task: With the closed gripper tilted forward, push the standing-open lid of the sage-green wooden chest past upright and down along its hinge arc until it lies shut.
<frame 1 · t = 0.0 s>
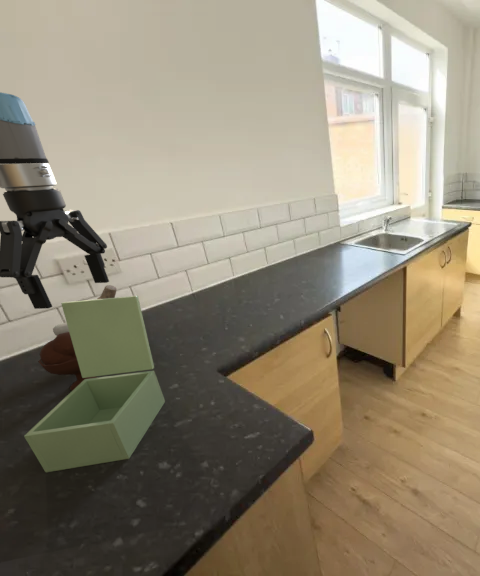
hand: (75, 294, 67), 26 cm above the countertop, tool pointing down, fingers open, 13 cm apart
chest: (112, 432, 66), on the countertop
ice cream bowl: (85, 384, 81), on the countertop
figurine: (118, 350, 96), on the countertop
salt shaker: (81, 366, 88), on the countertop
chest lid: (110, 337, 68), point 17 cm above the countertop, hinge at 100.0°
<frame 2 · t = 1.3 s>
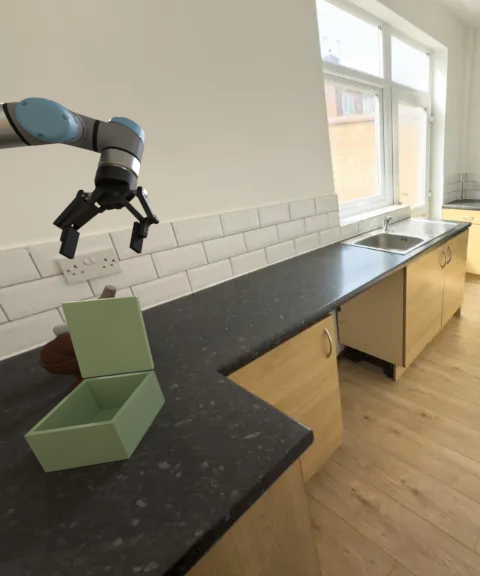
hand: (101, 253, 68), 34 cm above the countertop, tool tilted 45°, fingers open, 13 cm apart
nothing on the countertop moved.
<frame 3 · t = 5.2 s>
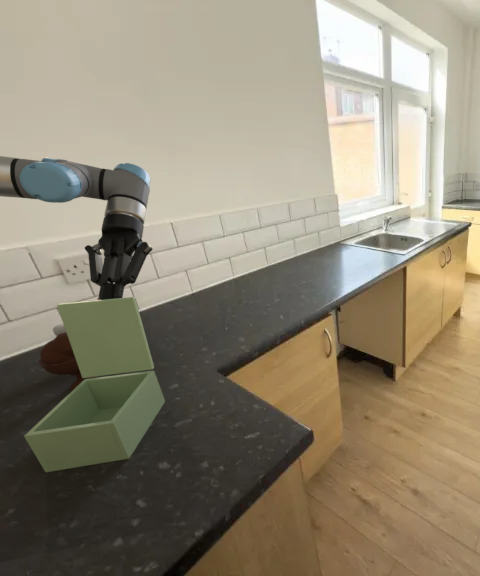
hand: (107, 313, 67), 22 cm above the countertop, tool tilted 45°, fingers closed
chest lid: (108, 337, 67), point 18 cm above the countertop, hinge at 96.2°, touching gripper
everything else where it was.
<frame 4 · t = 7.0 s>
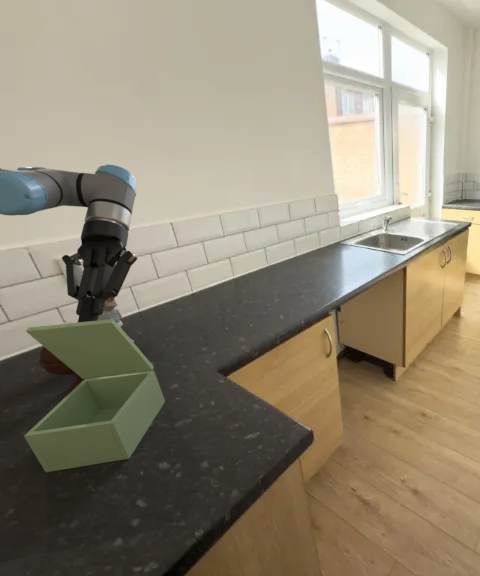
hand: (85, 331, 61), 22 cm above the countertop, tool tilted 45°, fingers closed
chest lid: (97, 351, 64), point 17 cm above the countertop, hinge at 67.1°
everything else where it was.
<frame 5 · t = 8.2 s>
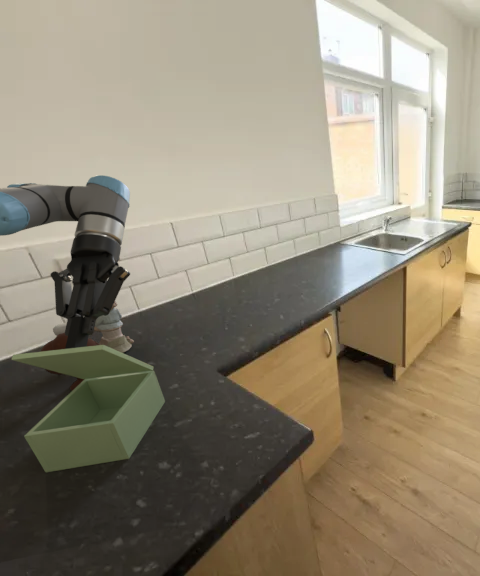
hand: (75, 352, 58), 20 cm above the countertop, tool tilted 45°, fingers closed
chest lid: (92, 363, 62), point 16 cm above the countertop, hinge at 48.4°, touching gripper
everything else where it was.
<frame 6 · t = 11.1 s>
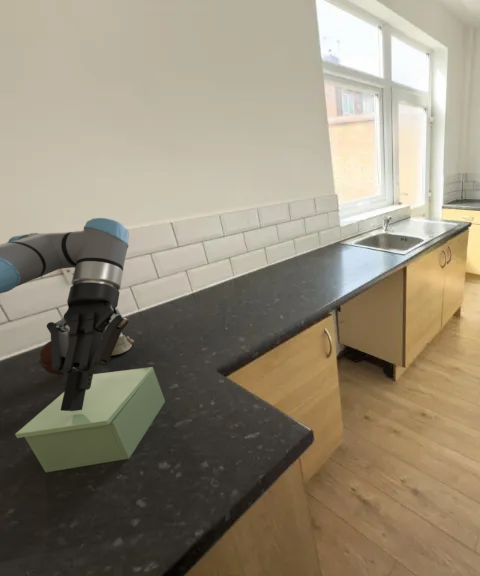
hand: (71, 410, 56), 11 cm above the countertop, tool tilted 45°, fingers closed
chest lid: (94, 397, 62), point 10 cm above the countertop, hinge at 1.8°, touching gripper
everything else where it was.
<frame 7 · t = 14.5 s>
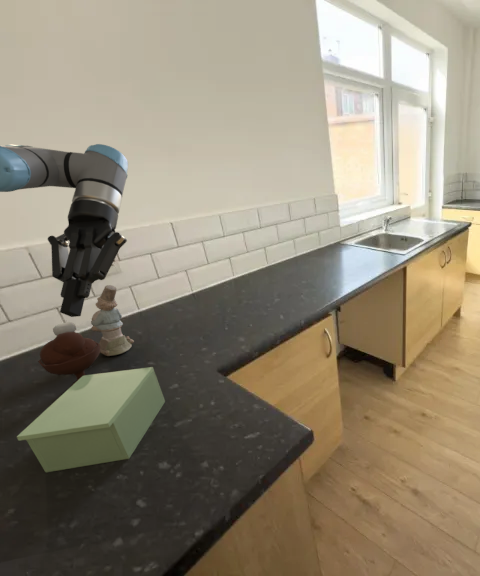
hand: (70, 314, 58), 26 cm above the countertop, tool tilted 45°, fingers closed
chest lid: (95, 398, 62), point 9 cm above the countertop, hinge at -0.2°, touching chest
everything else where it was.
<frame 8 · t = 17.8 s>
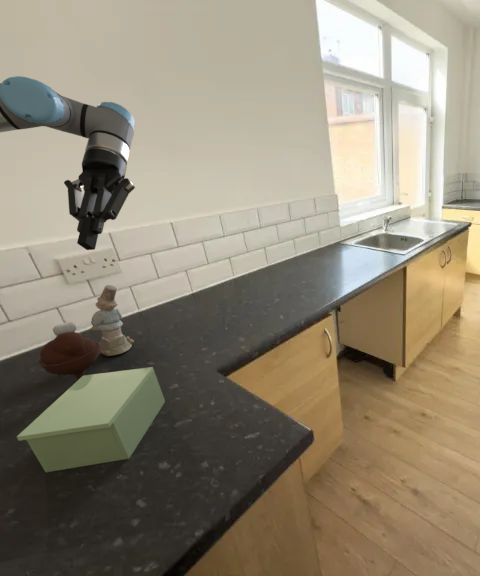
hand: (86, 246, 65), 36 cm above the countertop, tool tilted 45°, fingers closed
nothing on the countertop moved.
at the end: chest lid at +0° (first picture: +100°); ice cream bowl moved 0.2 cm from its start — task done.
